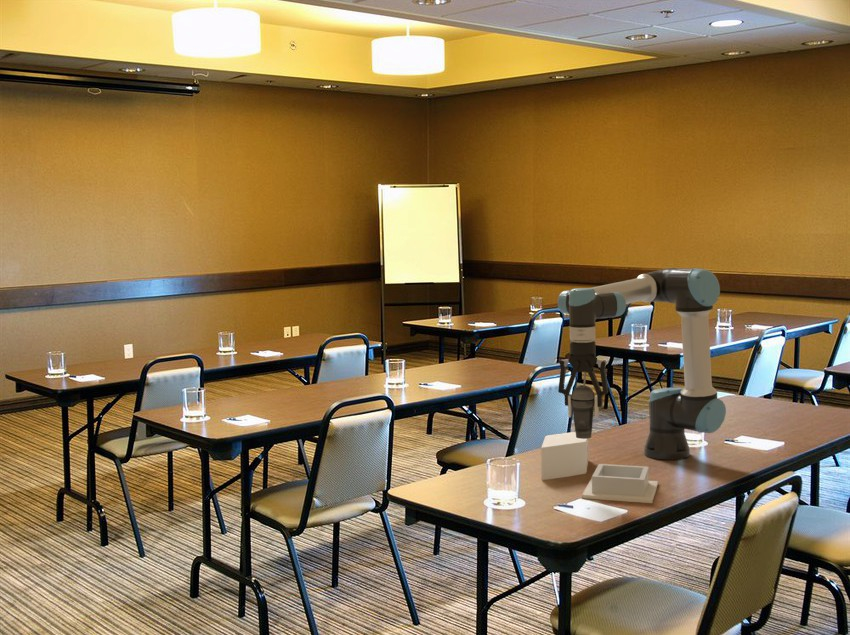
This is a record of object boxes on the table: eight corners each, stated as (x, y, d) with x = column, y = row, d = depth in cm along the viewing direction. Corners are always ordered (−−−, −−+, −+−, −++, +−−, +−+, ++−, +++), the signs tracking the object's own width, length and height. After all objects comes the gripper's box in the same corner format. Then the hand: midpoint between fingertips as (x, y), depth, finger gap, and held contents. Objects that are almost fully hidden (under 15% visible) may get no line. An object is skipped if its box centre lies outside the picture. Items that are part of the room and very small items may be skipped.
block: (608, 464, 312) (608, 432, 311) (562, 484, 289) (562, 450, 288) (568, 457, 321) (568, 427, 320) (521, 477, 298) (520, 444, 297)
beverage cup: (585, 432, 285) (583, 367, 283) (601, 437, 278) (600, 370, 276) (566, 436, 281) (565, 370, 279) (582, 441, 275) (581, 373, 273)
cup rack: (592, 480, 292) (592, 461, 292) (657, 484, 286) (657, 465, 286) (582, 498, 274) (582, 478, 273) (652, 503, 267) (652, 482, 267)
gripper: (546, 341, 276) (547, 418, 279) (615, 342, 270) (615, 421, 272) (551, 338, 283) (552, 413, 286) (618, 339, 277) (619, 415, 279)
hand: (583, 416), depth 279 cm, fingers closed on beverage cup, 7 cm apart
